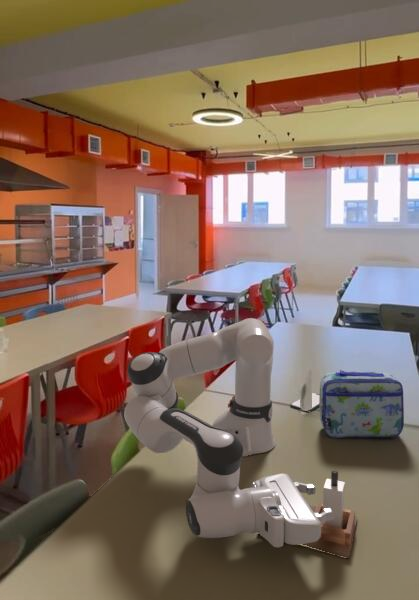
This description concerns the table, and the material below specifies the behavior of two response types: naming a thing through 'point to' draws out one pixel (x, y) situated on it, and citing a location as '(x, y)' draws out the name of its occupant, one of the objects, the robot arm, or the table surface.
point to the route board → (336, 534)
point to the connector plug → (334, 499)
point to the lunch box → (361, 404)
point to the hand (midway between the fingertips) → (323, 500)
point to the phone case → (314, 403)
